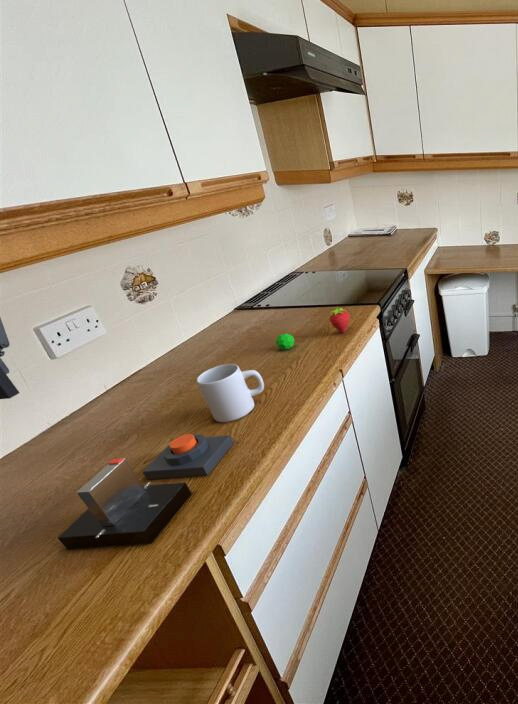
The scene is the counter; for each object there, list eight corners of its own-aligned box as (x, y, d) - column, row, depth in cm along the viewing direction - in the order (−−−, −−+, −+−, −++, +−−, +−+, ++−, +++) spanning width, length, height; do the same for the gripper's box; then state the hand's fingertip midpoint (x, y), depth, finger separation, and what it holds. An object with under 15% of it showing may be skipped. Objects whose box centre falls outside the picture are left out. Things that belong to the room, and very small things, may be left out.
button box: (146, 479, 80) (137, 464, 78) (178, 447, 88) (171, 432, 87) (207, 475, 80) (199, 460, 79) (234, 443, 88) (227, 428, 87)
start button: (168, 455, 81) (164, 448, 80) (182, 441, 85) (178, 434, 84) (188, 453, 81) (184, 447, 80) (201, 439, 85) (198, 433, 84)
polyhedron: (299, 346, 127) (294, 333, 125) (284, 353, 123) (279, 340, 121) (290, 343, 130) (286, 329, 128) (275, 350, 126) (270, 336, 124)
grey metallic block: (113, 525, 67) (87, 490, 64) (101, 526, 67) (75, 491, 64) (146, 491, 74) (124, 457, 70) (135, 492, 74) (113, 458, 70)
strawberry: (354, 326, 138) (347, 299, 134) (352, 336, 131) (344, 307, 127) (335, 329, 137) (328, 302, 132) (332, 339, 130) (324, 311, 126)
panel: (63, 553, 67) (52, 540, 65) (120, 496, 77) (112, 484, 75) (148, 546, 67) (139, 534, 65) (194, 491, 77) (187, 479, 75)
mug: (213, 427, 94) (194, 388, 89) (215, 409, 100) (197, 371, 95) (271, 407, 99) (256, 369, 94) (269, 391, 106) (254, 355, 101)
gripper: (-140, 268, 49) (-17, 421, 60) (-18, 240, 61) (68, 372, 71) (-202, 273, 49) (-68, 425, 60) (-68, 244, 61) (25, 375, 71)
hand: (6, 396), depth 66 cm, fingers closed
